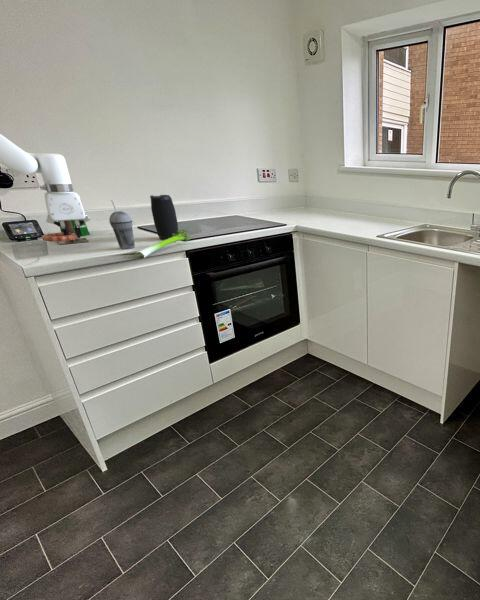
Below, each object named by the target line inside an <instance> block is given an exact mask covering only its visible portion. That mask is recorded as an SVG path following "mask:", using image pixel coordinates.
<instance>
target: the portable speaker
mask: <svg viewBox="0 0 480 600" xmlns="http://www.w3.org/2000/svg"><path fill="white" fill-rule="evenodd" d="M149 199H150V209H151V215H152V218H153V219H152V220H153V223H154V227H155V230H156V233H157V235H158V238H159V240H162V241H164V240H166V239H169V238H171V237H172V234H173V233H174V234H177V233H178V232H177V231H178V230H179V222H178V217H177V214H176V213H177V212H176V208H175V205H174V202H173V199H172V197H171V195H169V194H160V195H153V194H152V195H150V197H149ZM177 238H178V237H177Z"/></svg>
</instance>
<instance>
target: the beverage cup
mask: <svg viewBox="0 0 480 600" xmlns="http://www.w3.org/2000/svg"><path fill="white" fill-rule="evenodd" d="M110 201H111V203H112V206H113V209H114V212H112V213H111V214H110V216H109V218H108V221H109V225H110V226H111V228H112V230H113V233H114V236H115V238H116V241H117V243H118V246H119V249H120V250H125V251H126V250H132V249H135V248H136V244H135V238H134V230H133V219H132V218H131V216H130V215H129V214H128V213H127V212H124V211H122V210H121V211H120V210H119V211H118V210H117V207H116V205H115V202H114V200H113V199H111V200H110Z"/></svg>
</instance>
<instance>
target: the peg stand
mask: <svg viewBox="0 0 480 600" xmlns="http://www.w3.org/2000/svg"><path fill="white" fill-rule="evenodd" d="M64 224H65V226H66V228H67V229H68V232H70V233H74V230H73V227H72V223H71V220H64ZM87 243H89V240H88V239H87V238H86V237H80V238H78V237H77V238H76V239H74V240H69V241H60V242H58V244H59V246H66V245H74V244H75V245H77V244H87Z"/></svg>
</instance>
